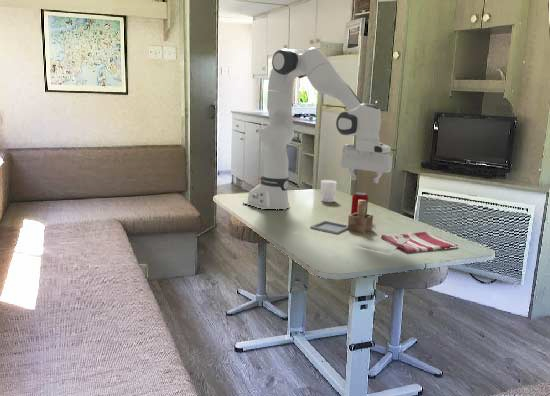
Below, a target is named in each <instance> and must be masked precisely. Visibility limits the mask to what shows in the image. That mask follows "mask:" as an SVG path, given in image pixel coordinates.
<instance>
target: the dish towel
mask: <svg viewBox="0 0 550 396" xmlns="http://www.w3.org/2000/svg"><path fill="white" fill-rule="evenodd" d="M380 239H382V240H384V241H386V242H387V243H388V244H390V245H392V246H394V247H396V249H397V250H399V251H401V252H403V253H406V254H411V253H424V252H423V251H426V252H432V251H431V250H435V251H439V250H438V249H445V248H450V247H455V246H458V244H457V243H453V242H451V241H448V240H446V239H444V238H442V237H439V236H437V235H435V234H433V233H432V232H430V231H422V232H414V233H406V234H405V233H401V234H397V235H386V234H382V235H381V237H380ZM398 239H406V241H405V242H403V243H399V242H397V241H398ZM407 239H408V240H407ZM458 247H459V246H458Z"/></svg>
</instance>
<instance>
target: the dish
mask: <svg viewBox="0 0 550 396" xmlns="http://www.w3.org/2000/svg"><path fill="white" fill-rule="evenodd" d="M309 229H312V230H316V231H321V232H325V233H330V234H335V235H339V234H341V233H343V232H345V231H349V230H348V224H342V223H339V222H335V221H328V220H323V221H320V222H318V223H315V224H313V225H311V226H310V227H309Z"/></svg>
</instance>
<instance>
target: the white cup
mask: <svg viewBox="0 0 550 396" xmlns="http://www.w3.org/2000/svg"><path fill="white" fill-rule="evenodd" d="M337 184H338V181H336V180H334V179H333V180H332V179H321V180H320V201H321V202H324V203H333V202H335V200H336V199H335V197H336V192H337Z"/></svg>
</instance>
